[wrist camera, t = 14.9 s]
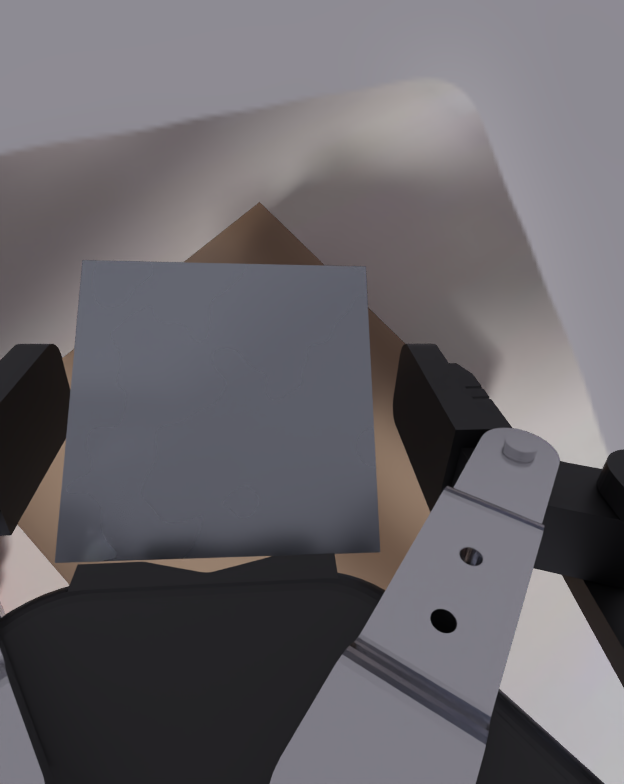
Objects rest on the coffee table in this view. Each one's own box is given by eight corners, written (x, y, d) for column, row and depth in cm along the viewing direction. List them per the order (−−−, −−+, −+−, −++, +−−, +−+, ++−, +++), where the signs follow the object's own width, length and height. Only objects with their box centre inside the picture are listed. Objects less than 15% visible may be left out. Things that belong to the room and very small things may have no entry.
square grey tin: (321, 525, 16) (380, 552, 8) (171, 529, 16) (54, 562, 7) (317, 384, 18) (365, 266, 9) (177, 384, 17) (82, 260, 8)
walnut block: (246, 701, 20) (237, 779, 15) (35, 461, 22) (-49, 446, 16) (459, 468, 23) (521, 457, 18) (262, 272, 25) (259, 202, 19)
